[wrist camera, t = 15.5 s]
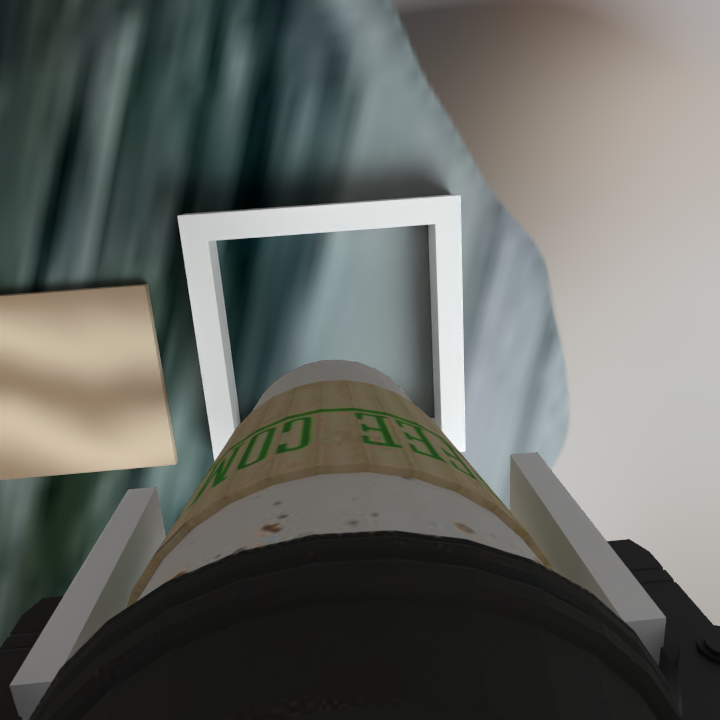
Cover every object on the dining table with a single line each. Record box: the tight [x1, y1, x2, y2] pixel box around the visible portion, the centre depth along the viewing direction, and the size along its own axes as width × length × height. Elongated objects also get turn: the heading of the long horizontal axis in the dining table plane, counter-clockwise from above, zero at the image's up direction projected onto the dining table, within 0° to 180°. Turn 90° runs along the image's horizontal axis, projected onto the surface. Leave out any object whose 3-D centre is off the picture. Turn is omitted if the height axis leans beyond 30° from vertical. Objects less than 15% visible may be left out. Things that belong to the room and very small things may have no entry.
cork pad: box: [0, 284, 178, 480], centre depth 38 cm, size 12×12×1 cm
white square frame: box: [177, 194, 465, 461], centre depth 30 cm, size 18×16×18 cm
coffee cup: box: [29, 360, 683, 720], centre depth 14 cm, size 10×10×15 cm
